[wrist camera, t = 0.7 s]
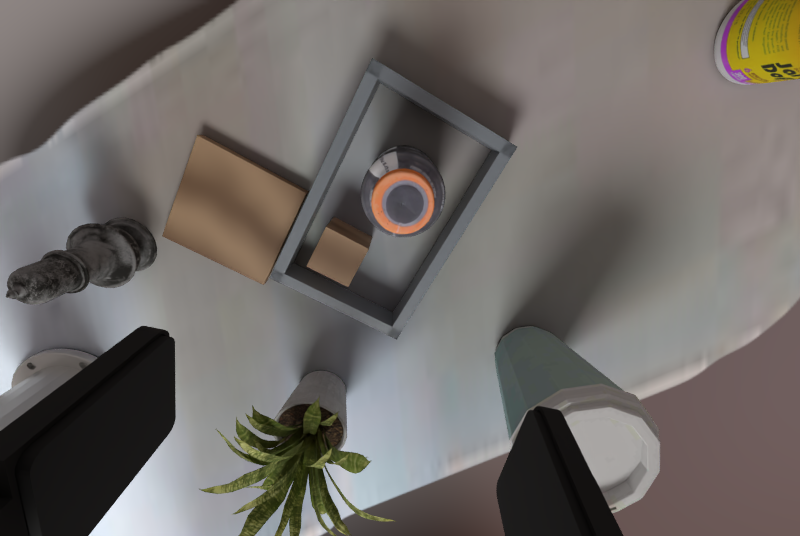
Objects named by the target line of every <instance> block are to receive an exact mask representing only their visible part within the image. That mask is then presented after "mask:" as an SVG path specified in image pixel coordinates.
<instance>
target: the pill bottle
mask: <svg viewBox="0 0 800 536" xmlns="http://www.w3.org/2000/svg"><path fill="white" fill-rule="evenodd" d="M361 202H362V206H363V210H364V212H365V214H366V216H367V217H368V219H369V220H370V222H371V223H372V224H373V225H374V226H375V227H376V228H378V229H379V230H380V231H382V232H384V233H386V234H388V235H391V236H396V237H410V236H414V235H418V234H420V233H422V232H424V231H426V230H427V229H428V228H430V227H431V226H432V225H433V224H434V223H435V222H436V220H437V219H438V218H439V216H440V214H441V212H442V209H443V207H444V202H445V186H444V182H443V179H442V177H441V175H440V173H439V171H438V170H437V168H436V167H435V165H434V164H433V162H432V161H431V160H430V159H429V158H428V156H427V155H426V154H425V153H423V152H422V151H420V150H418V149H416V148H414V147H411V146H396V147H393V148H390V149H388V150H386V151H385V152H383V153H382V154H381V155H380V156H379V157H378V158H377V159H376V161H375V162H374V163H373V164H372V166H371V167H370V168H369V170H368V171H367V173H366V175H365V177H364V179H363V182H362V186H361Z"/></svg>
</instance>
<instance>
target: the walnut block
mask: <svg viewBox="0 0 800 536" xmlns="http://www.w3.org/2000/svg"><path fill="white" fill-rule="evenodd" d="M371 240H372V236H370V235H368V234H366V233H364V232H362V231H360V230H358V229H356V228H355V227H353V226H351V225H349V224H347V223H345V222H343V221H341V220H339V219H338V218H336V217H333V219H332V220H331V221H330V222H329V224H328V225H327V226H326V228H325V230H324V232H323V234H322V236H321V238H320V240H319V242H318V244H317V246H316V248H315V250H314V252H313V254H312V256H311V258H310V260H309V262H308V264H307V267H309V268H311V269H313V270H315V271H317V272H319V273H321V274H323V275H325V276H327V277H329V278H331V279H333V280H335V281H337V282H339V283H341V284H343V285H345V286H347V287H348V286H349V284H350V283H351V281H352V279H353V277H354V275H355V273H356V272H357V270H358V268H359V266H360V264H361V262H362V261H363V259H364V257H365V255H366V253H367V252H368V250H369V247H370V243H371Z"/></svg>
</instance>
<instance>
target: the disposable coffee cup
mask: <svg viewBox="0 0 800 536" xmlns="http://www.w3.org/2000/svg"><path fill="white" fill-rule="evenodd" d="M495 363H496V371H497V376H498V381H499V387H500V392H501V397H502V403H503V408H504V413H505V418H506V424H507V429H508V434H509V440H510V450H511V449H512V446H513V444H514V441H515V439H516V437H517V434H518V432H519V430H520V427H521V425H522V423H523V420H524V418H525V416H526V413H527V412H528V411H529V410H534V408H535V407H536V406H543V407H548V408H553V409H557V410H560V411H561V412H562V414H563V416H564V418H565V420H566V422H567V424H568V426H569V428H570V430H571V432H572V434H573V436H574V438H575V440H576V442H577V444H578V446H579V448H580V450H581V452H582V454H583V456H584V458H585V460H586V462H587V464H588V466H589V469H590V471H591V473H592V475H593V476H594V478H595V479H596V481H597V483H598V485H599V487H600V489H601V492H602V494H603V496H604V498H605V500H606V502H607V504H608V506H609V508H610V510H611V512H612V513H614V512H617V511H619V510H621V509H623V508H625V507H627V506H629V505H630V504H633V503H634V502H636V501H638V500H640V499H642V498H643V496H644V495H645V493H646V492H647V490H648V489H649V487H650V486H651V484H652V482H653V481H654V479H655V478H656V476H657V474H658V473H659V472H660V440H659V438H658V436H659V435H658V434H659V429H658V427H657V426H656V425H655V423H654V422H653V419H652V417H651V416H650V415H649V413H648V412H647V411H646V409H645V408H644V407H643V405H642V404H641V402H640V401H639V399H638V398H637V397H636V395H633V394H631V393H628V392H625V391H623V390H622V389H621V388H620V387H618V386H617V385H616V384H615V383H613V382H612V381H611V380H610V379H608V378H607V377H606V376H605V375H603V374H602V373H601V372H600V371H598V370H597V369H596V368H595V367H593V366H592V365H591V364H590V363H588V362H587V361H586V360H584V359H583V358H582V357H581V356H579V355H578V354H577V353H576V352H574V351H573V350H572V349H571V348H569V347H568V346H567V345H566V344H564V343H563V342H562V341H561V340H559V339H558V338H557V337H556V336H554V335H553V334H552V333H551V332H548V331H546V330H543V329H540V328H537V327H533V326H526V327H519V328H515V329H513V330H512V331H510V332H509V333H508V334H506V335H505V336H503V337H502V339H501V341H500V343H499V344H498V346H497V348H496V352H495Z"/></svg>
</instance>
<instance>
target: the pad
mask: <svg viewBox="0 0 800 536" xmlns="http://www.w3.org/2000/svg"><path fill="white" fill-rule="evenodd" d="M308 192H309V191H307V190H305V189H303V188H301V187H300V186H298V185H296V184H294V183H292V182H290V181H288V180H286V179H285V178H283V177H281V176H279V175H277V174H275V173H273V172H271V171H270V170H268V169H266V168H264V167H262V166H260V165H258V164H256V163H255V162H253V161H251V160H249V159H247V158H245V157H243V156H241V155H240V154H238V153H236V152H234V151H232V150H230V149H228V148H226V147H225V146H223V145H221V144H219V143H217V142H215V141H213V140H211V139H210V138H208V137H206V136H204V135H197V137H196V140H195V143H194V146H193V149H192V152H191V155H190V158H189V160H188V163H187V166H186V169H185V172H184V175H183V178H182V181H181V183H180V186H179V189H178V192H177V195H176V198H175V201H174V204H173V206H172V209H171V212H170V215H169V218H168V221H167V224H166V227H165V229H164V232H163V235H162V236H163V237H165V238H167V239H169V240H171V241H174V242H176V243H178V244H180V245H182V246H184V247H186V248H188V249H190V250H192V251H194V252H196V253H199V254H201V255H203V256H205V257H207V258H209V259H211V260H213V261H215V262H217V263H219V264H221V265H223V266H226V267H228V268H230V269H232V270H234V271H236V272H238V273H240V274H242V275H244V276H246V277H248V278H250V279H253V280H255V281H257V282H259V283H261V284H263V285H264V284H265V283H266V282H267V280H268V278H269V276H270V274H271V272H272V269H273V267H274V265H275V263H276V261H277V259H278V256H279V254H280V252H281V250H282V248H283V246H284V244H285V241H286V239H287V237H288V235H289V233H290V231H291V229H292V226H293V224H294V222H295V220H296V218H297V216H298V214H299V211H300V209H301V207H302V205H303V203H304V201H305V198H306V196H307V194H308Z"/></svg>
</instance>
